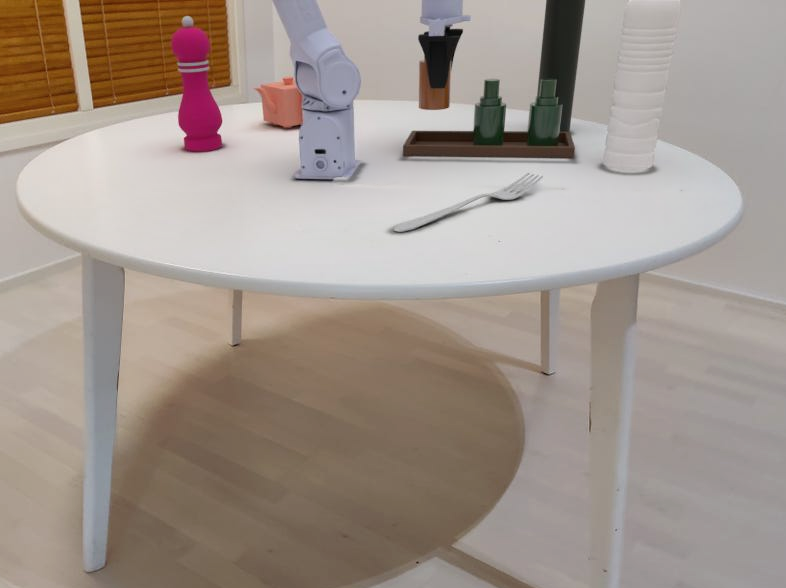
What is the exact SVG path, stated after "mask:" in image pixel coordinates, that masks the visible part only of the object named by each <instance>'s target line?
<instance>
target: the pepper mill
mask: <svg viewBox="0 0 786 588" xmlns="http://www.w3.org/2000/svg"><path fill="white" fill-rule="evenodd" d="M181 24H182V26H183V27H181V28H179V29H177V30H176V31H175V32H174V33H173V34H172V36H171V40H170V46H171V51H172V54H173V55H174V56H175V57H176V58H177V59H178V61H177V62H176V65H177V71H178V72H180V76H181V80H182V88H183V89H182V96H181V101H180V104H179V109H178V112H177V113H178V114H177V123H178V127H179V128H180V130H181V131H182V132H183V133H184V134H185V135H186V136H185V137H183V144H184V149H185V150H186V151H189V152H210V151H214V150H215V151H216V150H219V149H220V148H222V147H223V140H222V135H221V133H218V132H219V130H220V129H221V127H222V125H223V116H222V112H221V110H220V107H219V105H218V103H217V101H216V100H215V98H214V96H213V93H212V92H211V91H212V90H211V88H210V85H209V81H208V71H209V70H210V66H209V62H210V61H209V60H208V59H207V56H208V54H209V53H210V50H211V44H210V43H211V42H210V39H209V37H208V35H207V33H206V32H205V31H204V30H202V29H200V28H198V27H195V26H194V19H193V18H192V17H191V16H189V15H185V16H183V17H182V19H181Z"/></svg>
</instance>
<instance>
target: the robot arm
mask: <svg viewBox="0 0 786 588" xmlns="http://www.w3.org/2000/svg"><path fill="white" fill-rule="evenodd" d="M271 1H272V3H273V5H274V9H275V10H276V12H277V14H278V17H279V19H280V21H281V24H282V26H283V28H284V30H285V32H286V35H287V37H288V39H289V43H290V48H289V58H290V59H291V62H292V65H293V73H294V74H293V76H294V77H293V80H295V84H296V87H297V89H298V90H299V92H300V93H301V94H302V95H303V100H302V107H303V108H302V113H303V124H302V125H301V124H300V128H299V131H298V146H299V148H298V149H299V163H300V169H299V170H298V171H297V172H296V173H295V174H294V178H295V179H298V180H300V179H301V180H335V179H336V178H350V177H351V176H352V175H353V174H354V172H355V171H356V170H357V168H358V167H359V165H360V164H361V163H362V162H363V160H362V159H356V149H355V147H356V145H355V142H356V141H355V109H354V108H355V104H354V101H355V100H356V98H357V97H358V95H359V93H360V90H361V87H362V86H361V84H362V77H361V72H360V70H359V68H358V66H357V65H356V64H355V62H353V60H352V59H350V58H349V57H348V56H347V54H346V53H345V51H344V48H343V46H342V44H341V42H340V41H339V40H338V39H337V37H336V36H335V35H334V34H333V33H332V31H331V30H330V29H329V28H328V25H327V23H326V21H325V18H324V16H323V13H322V11H321V8H320V6H319V4H318V1H317V0H271ZM463 6H464V0H421V15H420V16H419V23H420V24H421V25H424V26H428V31H424V32H423V34H421V33H420V34H418V35H417V37H418V38H417V40H418V42H419V44H420V47H421V50H422V52H423V57H424V56H425V59H426V64H427V71H428V78H429V83H430V87H431V88H445V86H446V83H447V79H448V74H449V68H450V62H451V70H452V68H453V64H454V58H455V53H456V50H457V48H458V47H457V46H458V44H459V42H460V39H461V37H462V35H463V33H464V28H452V27H453V25H456V24H461V23H463V22H470V21H471V17H472V15H471V14H463V9H464V7H463Z"/></svg>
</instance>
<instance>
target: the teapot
mask: <svg viewBox="0 0 786 588" xmlns="http://www.w3.org/2000/svg"><path fill="white" fill-rule="evenodd" d="M252 90H254V91H256V92H258V94H259V96H260V99H261V106H262V116H263V121H264V122H268V123H271V124H272V126H281V127H283V128H282V129H292V128H293V126H298V125H300V126H301V125H302V124H303V113H302V108H303V107H302V100H303V95H302V94H301V93H300V92H299V90H298V89H297V87H296V84H295V80H294V77H293V76H284V77H282V81H277V82H269V83H262V84H260V87H253V88H252Z"/></svg>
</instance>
